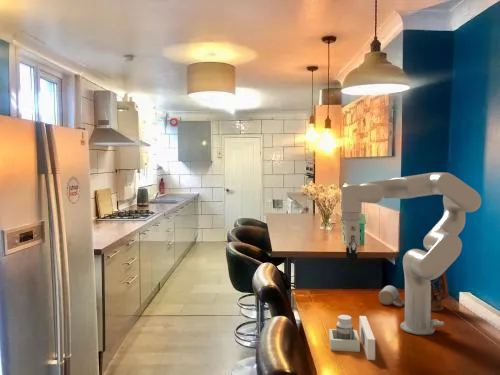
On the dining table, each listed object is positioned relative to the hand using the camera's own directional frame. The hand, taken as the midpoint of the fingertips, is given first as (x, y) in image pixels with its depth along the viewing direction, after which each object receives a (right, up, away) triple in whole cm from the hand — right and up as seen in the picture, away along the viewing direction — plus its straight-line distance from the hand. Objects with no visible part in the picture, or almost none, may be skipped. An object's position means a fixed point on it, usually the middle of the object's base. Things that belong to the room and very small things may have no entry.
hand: (351, 260), depth 159 cm
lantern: (+43, -27, +31) cm, 59 cm away
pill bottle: (-5, -29, -10) cm, 31 cm away
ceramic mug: (+27, -27, +35) cm, 52 cm away
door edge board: (+3, -29, -11) cm, 31 cm away
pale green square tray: (-5, -29, -10) cm, 31 cm away
